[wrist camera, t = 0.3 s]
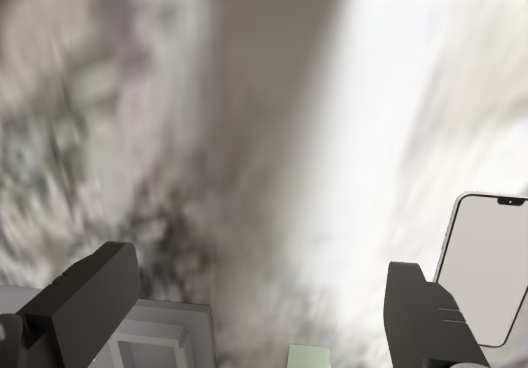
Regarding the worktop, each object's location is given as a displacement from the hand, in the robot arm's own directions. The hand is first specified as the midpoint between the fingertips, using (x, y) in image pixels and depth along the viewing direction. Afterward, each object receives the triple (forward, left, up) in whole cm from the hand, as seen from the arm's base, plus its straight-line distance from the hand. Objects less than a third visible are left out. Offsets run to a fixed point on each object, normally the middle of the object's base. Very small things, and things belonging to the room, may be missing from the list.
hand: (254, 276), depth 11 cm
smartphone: (+12, +16, -18) cm, 27 cm away
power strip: (+26, -20, -18) cm, 38 cm away
